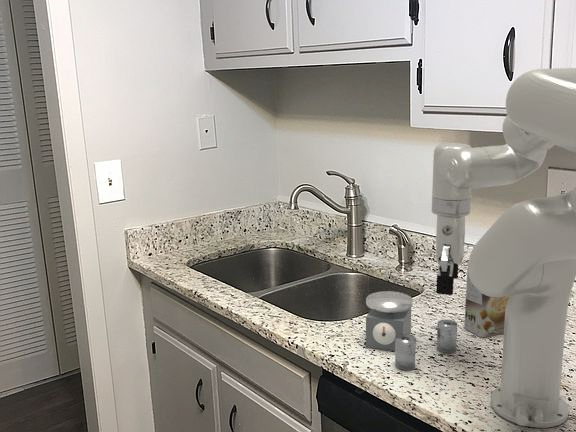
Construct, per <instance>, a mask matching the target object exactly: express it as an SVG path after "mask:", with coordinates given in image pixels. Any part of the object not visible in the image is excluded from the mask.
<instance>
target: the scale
mask: <svg viewBox="0 0 576 432" xmlns="http://www.w3.org/2000/svg"><path fill="white" fill-rule="evenodd" d="M403 334H406V335H411V334H412V307H411V308H410V309H409V310H406V311H403V312H396V313H387V312H380V311H376V310H373V309H371V308H370V309H369V311H368V313H367V314H366V316H365V348H369V349H375V350H376V349H377V350H383V351H390V352H395V338H396V336H398V335H403Z"/></svg>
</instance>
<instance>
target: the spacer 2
mask: <svg viewBox="0 0 576 432" xmlns="http://www.w3.org/2000/svg"><path fill="white" fill-rule="evenodd" d="M436 330H437V331H436V351H437V352H439V353H440V354H444V355H445V354H446V355H452V354H455V353H456V352H457V342H458V341H457V339H458V323H457V321H455V320H451V319H440V320H438V321H437V326H436Z"/></svg>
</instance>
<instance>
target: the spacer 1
mask: <svg viewBox="0 0 576 432" xmlns="http://www.w3.org/2000/svg"><path fill="white" fill-rule="evenodd" d="M416 341H417V339H416V337H415V336H413V335H411V334H410V335H406V334H403V335H398V336H396V338H395V351H394V354H395V355H394V367H395V369H397V370H399V371H401V372H402V371H403V372H411V371H413V370H415V369H416V352H417V350H416V348H417V347H416V346H417V343H416Z"/></svg>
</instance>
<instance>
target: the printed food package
mask: <svg viewBox="0 0 576 432" xmlns="http://www.w3.org/2000/svg"><path fill="white" fill-rule="evenodd" d="M466 269H467V273H466V289H465V304H464V305H465V307H464V309H465V310H464V323H463V327H464V329H466V330H467V331H469V332H471V333H472V334H474V335H475V336H477V337H479V338H481V339H482V338H487V337H492V336H497V335H501V334H503V335H504V321H505V311H506V306H507V303H508V300H509V298H510V296H507V297H489V296H486V295H484V294H482V293H481V292H479V291H478V290H477V289H476V288H475V287H474V286H473V284H472V282H471V280H470V278H469V273H468V267H467V268H466Z"/></svg>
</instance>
